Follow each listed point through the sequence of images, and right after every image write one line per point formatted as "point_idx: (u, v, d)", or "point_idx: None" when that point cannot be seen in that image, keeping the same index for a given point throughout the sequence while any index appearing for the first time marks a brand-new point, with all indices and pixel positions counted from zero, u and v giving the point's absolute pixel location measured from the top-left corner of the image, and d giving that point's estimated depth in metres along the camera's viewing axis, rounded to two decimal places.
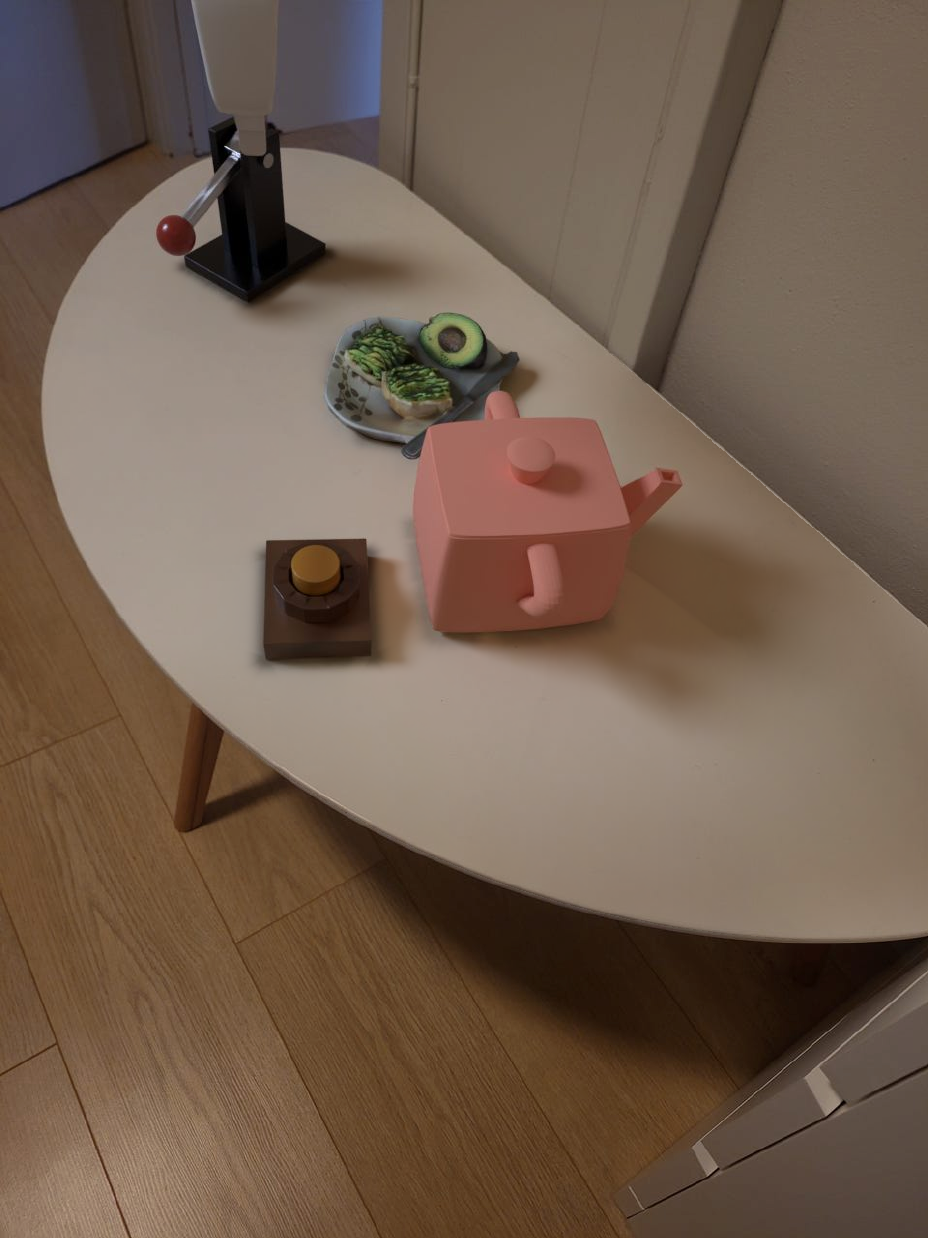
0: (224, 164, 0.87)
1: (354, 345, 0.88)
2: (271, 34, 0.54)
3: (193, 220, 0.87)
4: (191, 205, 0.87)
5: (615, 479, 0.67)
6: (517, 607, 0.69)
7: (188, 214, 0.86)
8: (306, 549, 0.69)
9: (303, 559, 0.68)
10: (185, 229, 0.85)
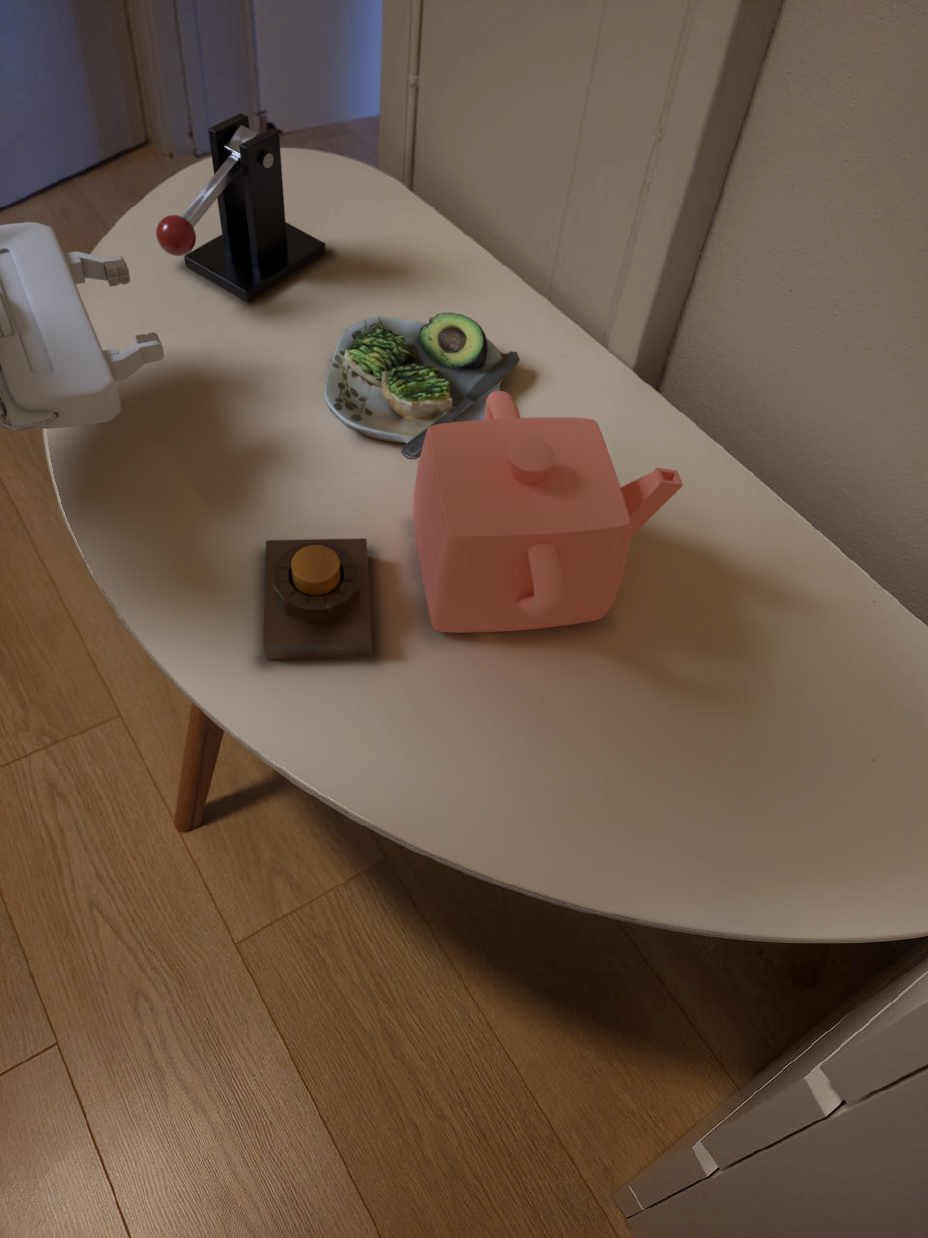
0: (224, 164, 0.87)
1: (354, 345, 0.87)
2: None
3: (193, 220, 0.87)
4: (191, 205, 0.87)
5: (615, 479, 0.67)
6: (517, 607, 0.69)
7: (188, 214, 0.86)
8: (306, 549, 0.69)
9: (303, 559, 0.68)
10: (185, 229, 0.85)
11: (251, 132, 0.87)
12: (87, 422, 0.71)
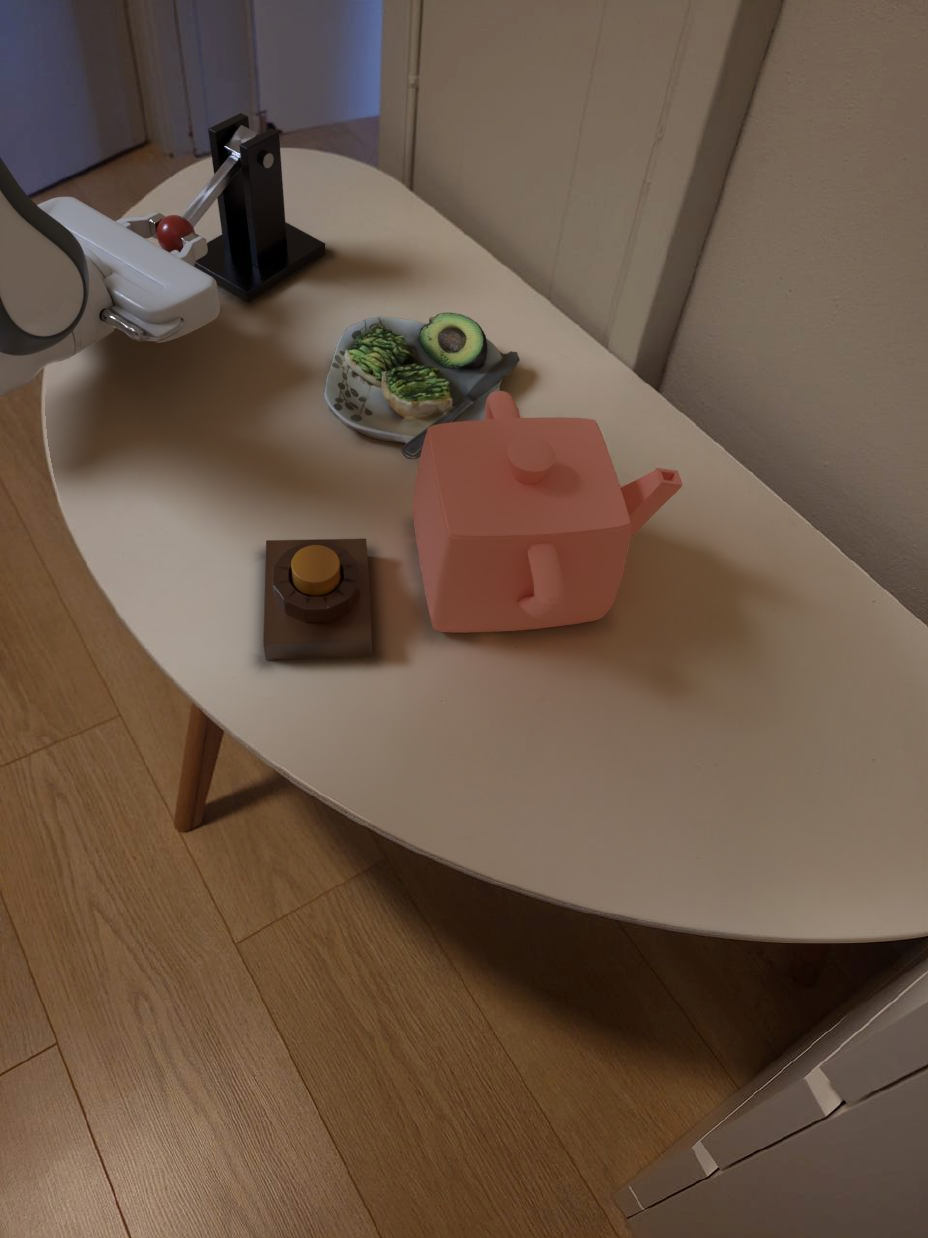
0: (224, 164, 0.87)
1: (354, 345, 0.88)
2: None
3: (193, 220, 0.87)
4: (191, 205, 0.87)
5: (615, 479, 0.67)
6: (517, 607, 0.69)
7: (188, 214, 0.86)
8: (306, 549, 0.69)
9: (303, 559, 0.68)
10: (185, 229, 0.85)
11: (251, 132, 0.87)
12: (203, 322, 0.81)
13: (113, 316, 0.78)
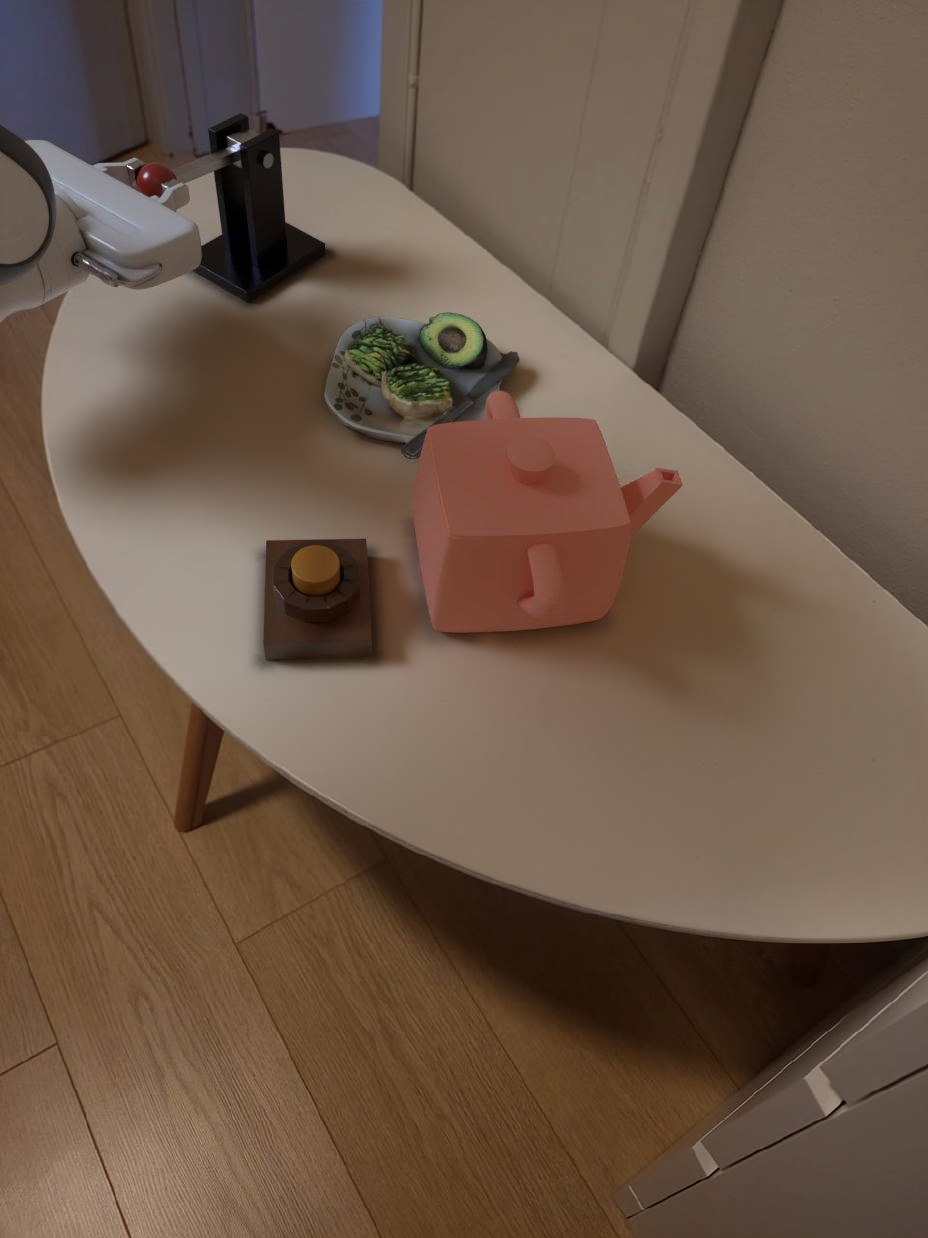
0: (222, 150, 0.86)
1: (354, 345, 0.87)
2: None
3: (180, 178, 0.83)
4: (181, 167, 0.83)
5: (615, 479, 0.67)
6: (517, 607, 0.69)
7: (176, 171, 0.83)
8: (306, 549, 0.69)
9: (303, 559, 0.68)
10: (172, 177, 0.81)
11: (257, 134, 0.88)
12: (183, 271, 0.76)
13: (86, 260, 0.73)
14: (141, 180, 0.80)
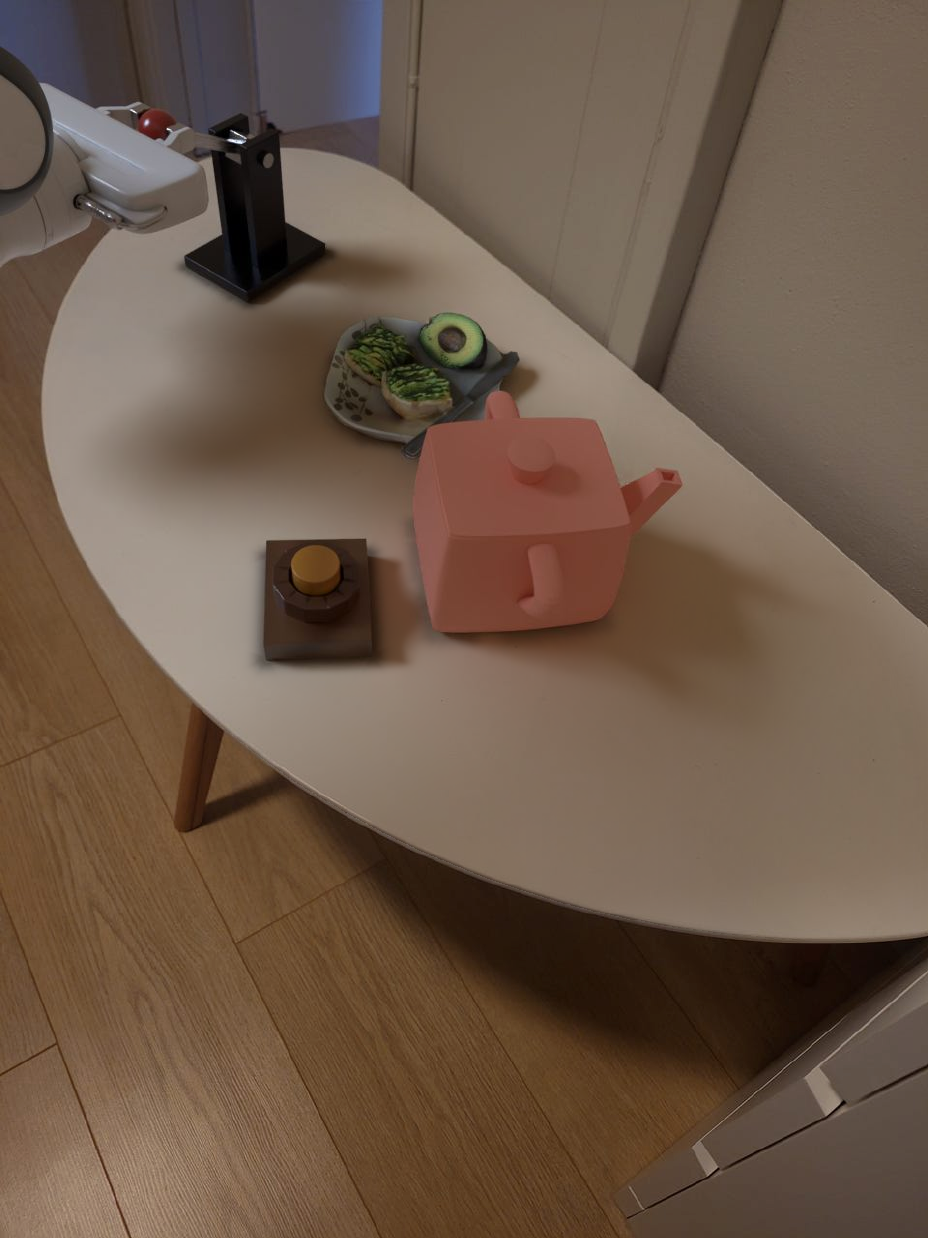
0: (225, 138, 0.86)
1: (354, 345, 0.88)
2: None
3: None
4: None
5: (615, 479, 0.67)
6: (517, 607, 0.69)
7: None
8: (306, 549, 0.69)
9: (303, 559, 0.68)
10: None
11: None
12: (189, 215, 0.73)
13: (88, 202, 0.70)
14: (145, 119, 0.77)
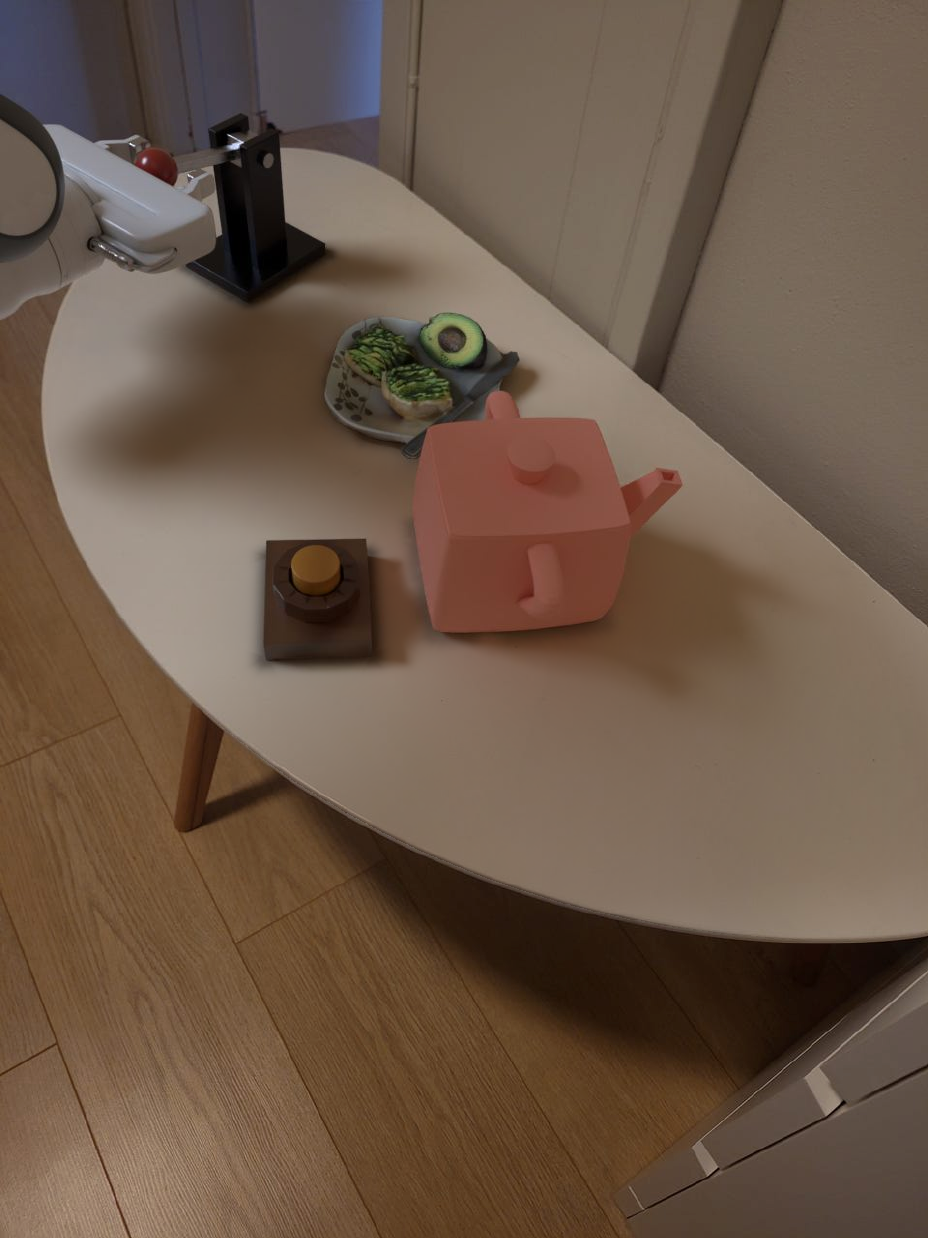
0: (223, 146, 0.86)
1: (354, 345, 0.88)
2: None
3: (179, 167, 0.82)
4: (181, 156, 0.83)
5: (615, 479, 0.67)
6: (517, 607, 0.69)
7: (176, 160, 0.82)
8: (306, 549, 0.69)
9: (303, 559, 0.68)
10: (172, 163, 0.80)
11: None
12: (198, 254, 0.77)
13: (102, 244, 0.73)
14: (140, 163, 0.79)
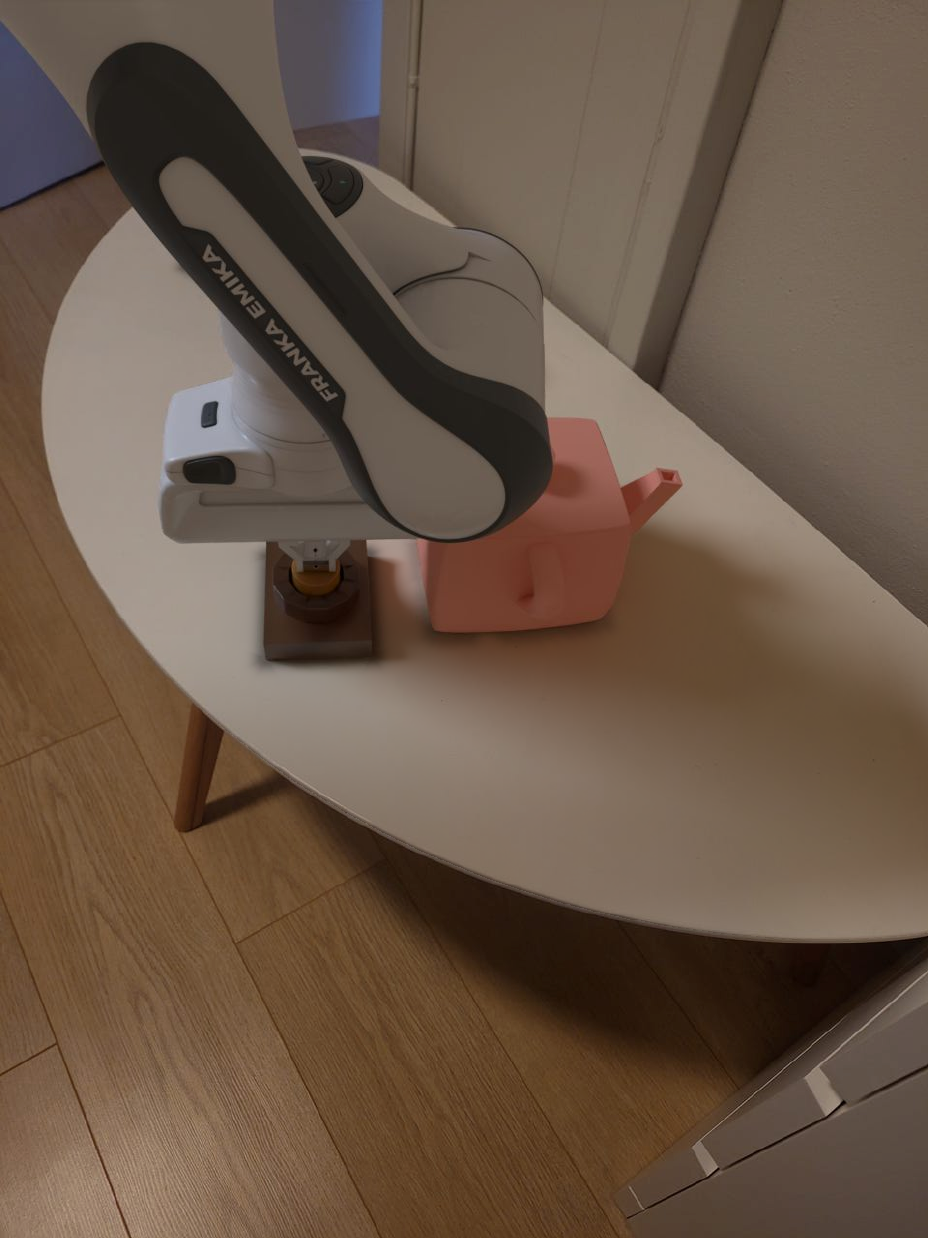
0: None
1: None
2: (159, 501, 0.58)
3: None
4: None
5: (615, 479, 0.67)
6: (517, 607, 0.69)
7: None
8: None
9: None
10: None
11: None
12: None
13: None
14: None
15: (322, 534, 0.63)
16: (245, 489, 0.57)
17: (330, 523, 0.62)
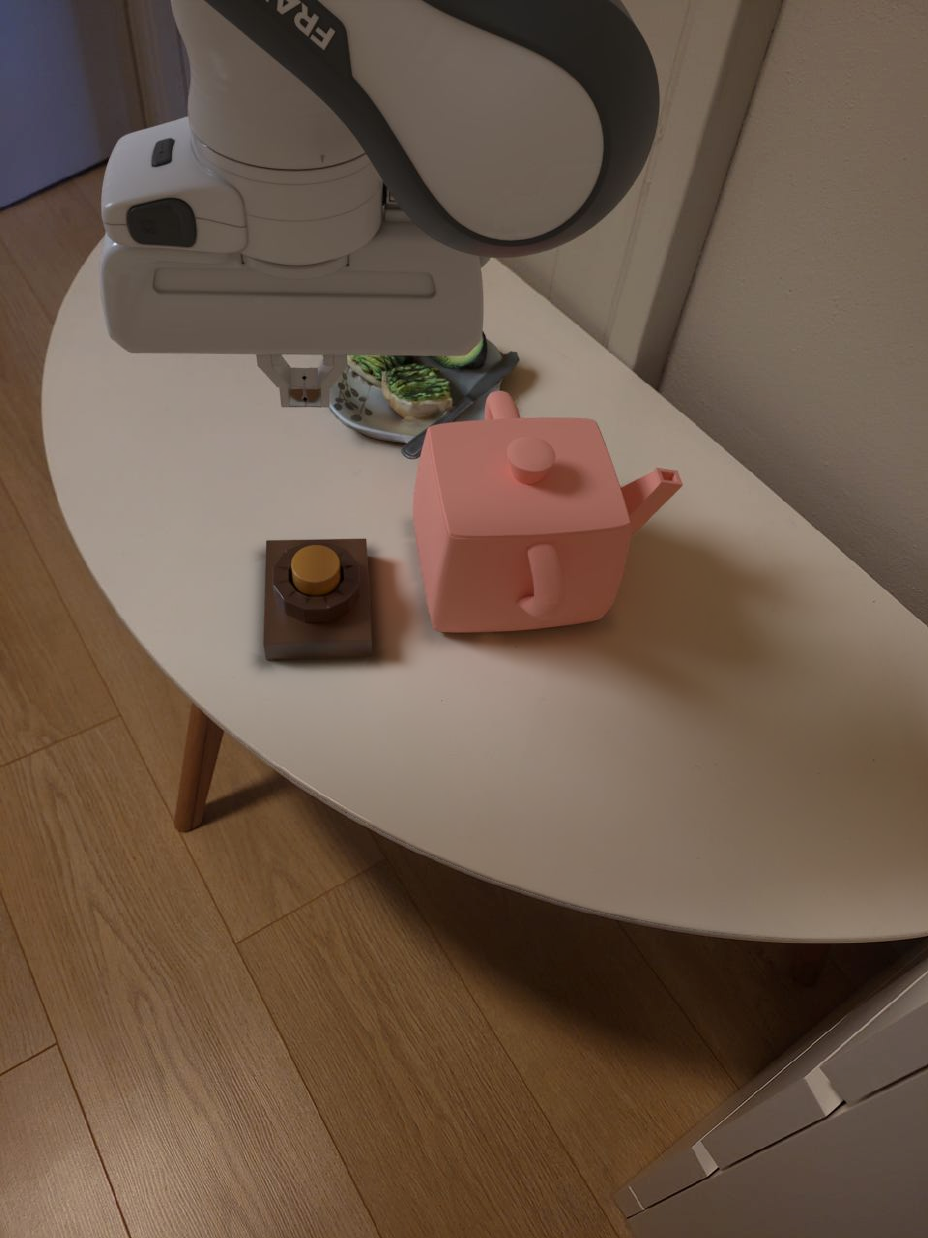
0: None
1: None
2: (100, 280, 0.45)
3: None
4: None
5: (615, 479, 0.67)
6: (517, 607, 0.69)
7: None
8: (306, 549, 0.69)
9: (303, 559, 0.68)
10: None
11: None
12: (483, 312, 0.50)
13: None
14: None
15: (312, 343, 0.50)
16: (210, 258, 0.44)
17: (322, 326, 0.49)
